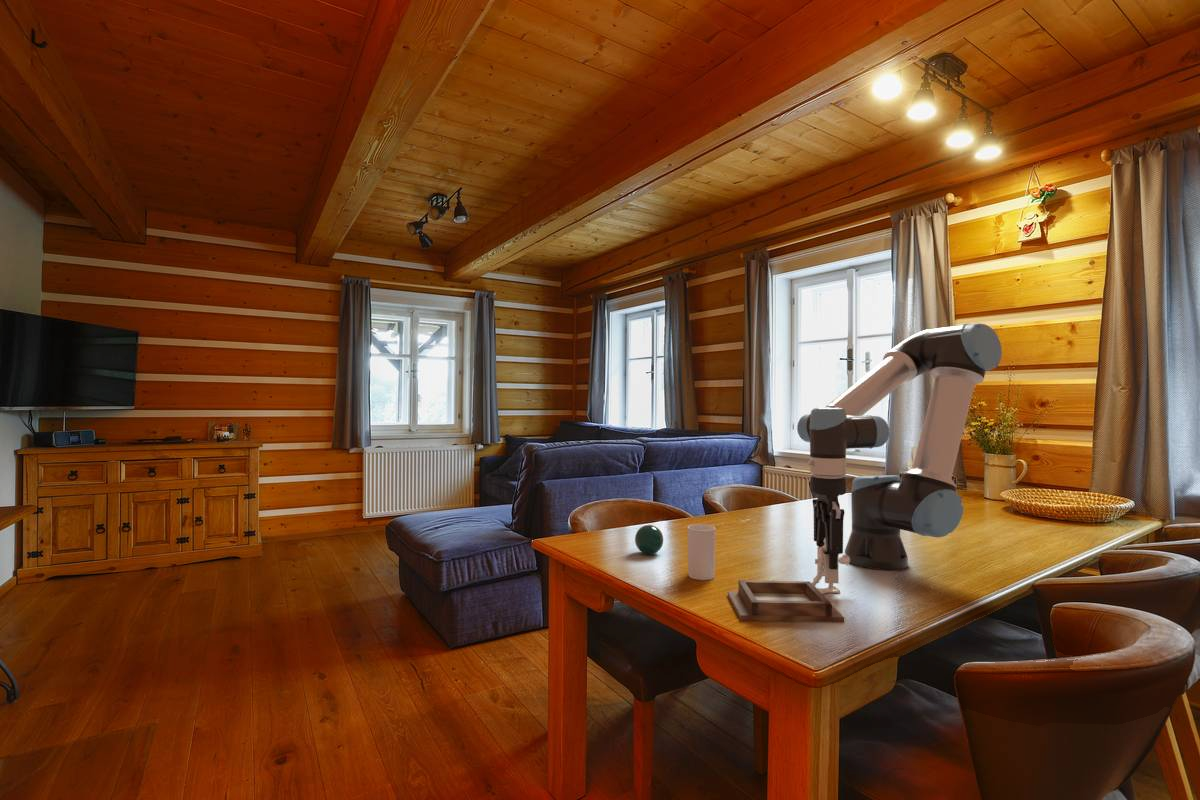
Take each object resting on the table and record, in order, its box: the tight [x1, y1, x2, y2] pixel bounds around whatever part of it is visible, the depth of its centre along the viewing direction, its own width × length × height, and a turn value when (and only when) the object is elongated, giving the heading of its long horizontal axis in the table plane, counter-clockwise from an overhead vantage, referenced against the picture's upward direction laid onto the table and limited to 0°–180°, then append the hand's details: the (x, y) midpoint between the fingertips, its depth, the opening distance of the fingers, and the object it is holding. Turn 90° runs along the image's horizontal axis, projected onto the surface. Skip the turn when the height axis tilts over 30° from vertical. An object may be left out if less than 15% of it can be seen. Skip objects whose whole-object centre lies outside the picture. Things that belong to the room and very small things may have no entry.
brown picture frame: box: [727, 579, 845, 623], centre depth 118 cm, size 20×14×4 cm
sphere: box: [634, 524, 664, 555], centre depth 159 cm, size 8×8×8 cm
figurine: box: [811, 538, 851, 595], centre depth 128 cm, size 5×9×12 cm, turn 113°
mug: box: [687, 523, 716, 581], centre depth 140 cm, size 10×7×12 cm, turn 176°
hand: (827, 578), depth 128 cm, fingers closed on figurine, 4 cm apart
